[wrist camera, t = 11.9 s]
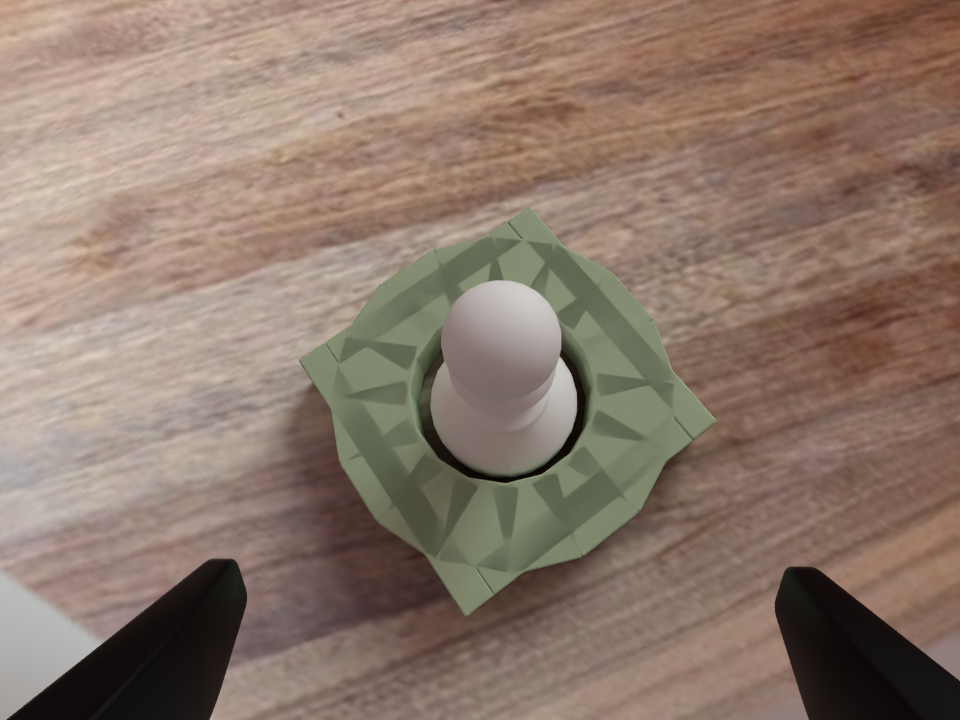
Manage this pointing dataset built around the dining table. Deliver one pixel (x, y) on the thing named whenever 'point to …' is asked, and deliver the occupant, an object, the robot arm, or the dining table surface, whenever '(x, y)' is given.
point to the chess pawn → (503, 381)
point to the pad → (527, 502)
